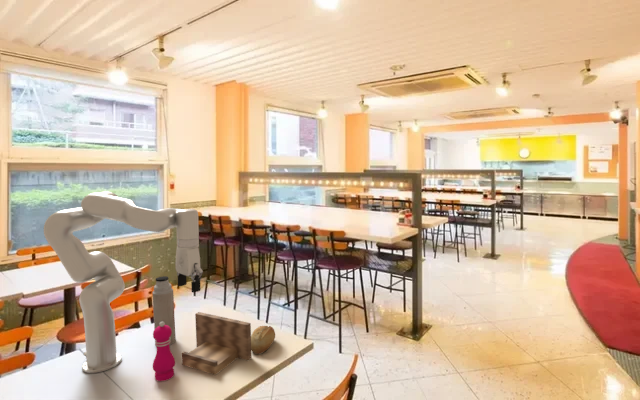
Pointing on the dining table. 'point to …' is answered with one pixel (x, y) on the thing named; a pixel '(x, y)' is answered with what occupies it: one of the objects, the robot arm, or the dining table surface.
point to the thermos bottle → (164, 305)
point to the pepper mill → (163, 353)
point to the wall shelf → (218, 343)
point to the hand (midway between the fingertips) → (189, 288)
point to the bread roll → (262, 339)
